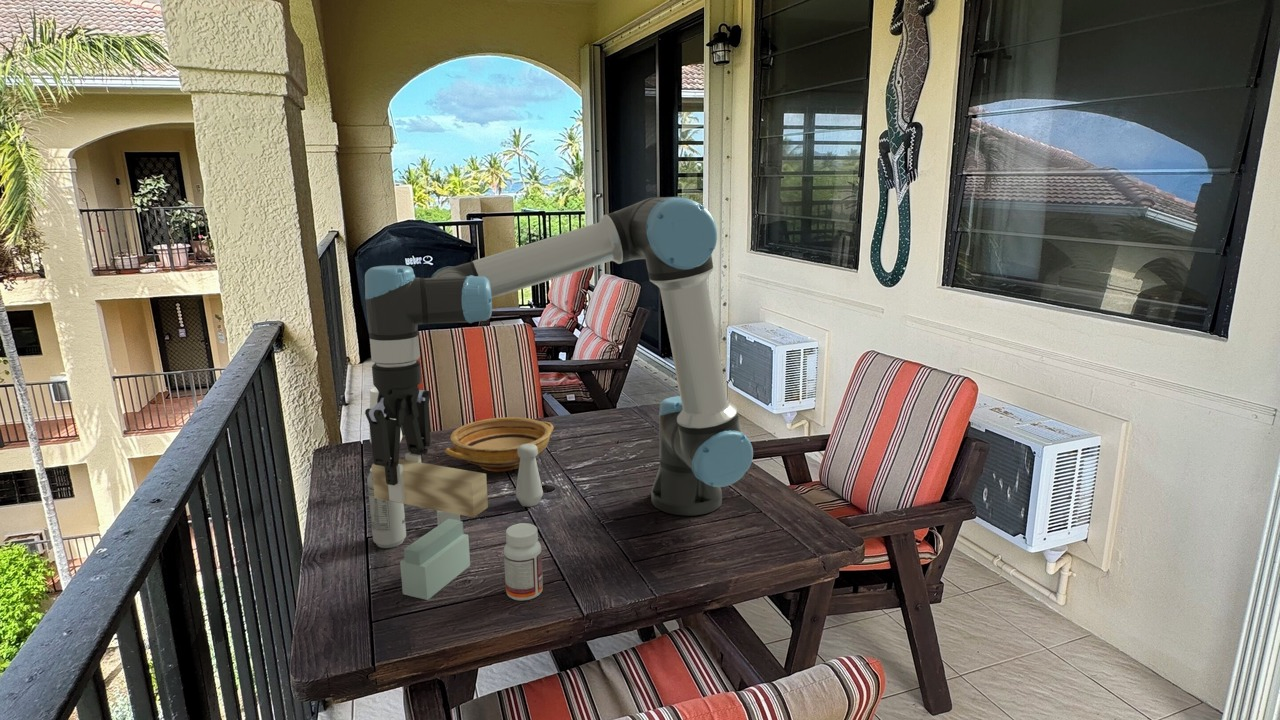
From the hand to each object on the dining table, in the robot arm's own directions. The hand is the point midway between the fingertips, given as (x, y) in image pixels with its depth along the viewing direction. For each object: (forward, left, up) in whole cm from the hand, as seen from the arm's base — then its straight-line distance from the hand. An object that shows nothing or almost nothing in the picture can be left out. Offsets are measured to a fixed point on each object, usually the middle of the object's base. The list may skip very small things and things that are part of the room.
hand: (406, 495), depth 123 cm
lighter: (+4, -18, -15) cm, 24 cm away
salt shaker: (-4, -33, -15) cm, 37 cm away
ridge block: (-5, 0, -15) cm, 16 cm away
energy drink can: (+12, -8, -15) cm, 21 cm away
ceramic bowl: (+14, -51, -15) cm, 55 cm away
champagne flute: (+27, -26, -15) cm, 40 cm away
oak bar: (-5, 0, -1) cm, 5 cm away
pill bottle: (-21, -2, -15) cm, 26 cm away
